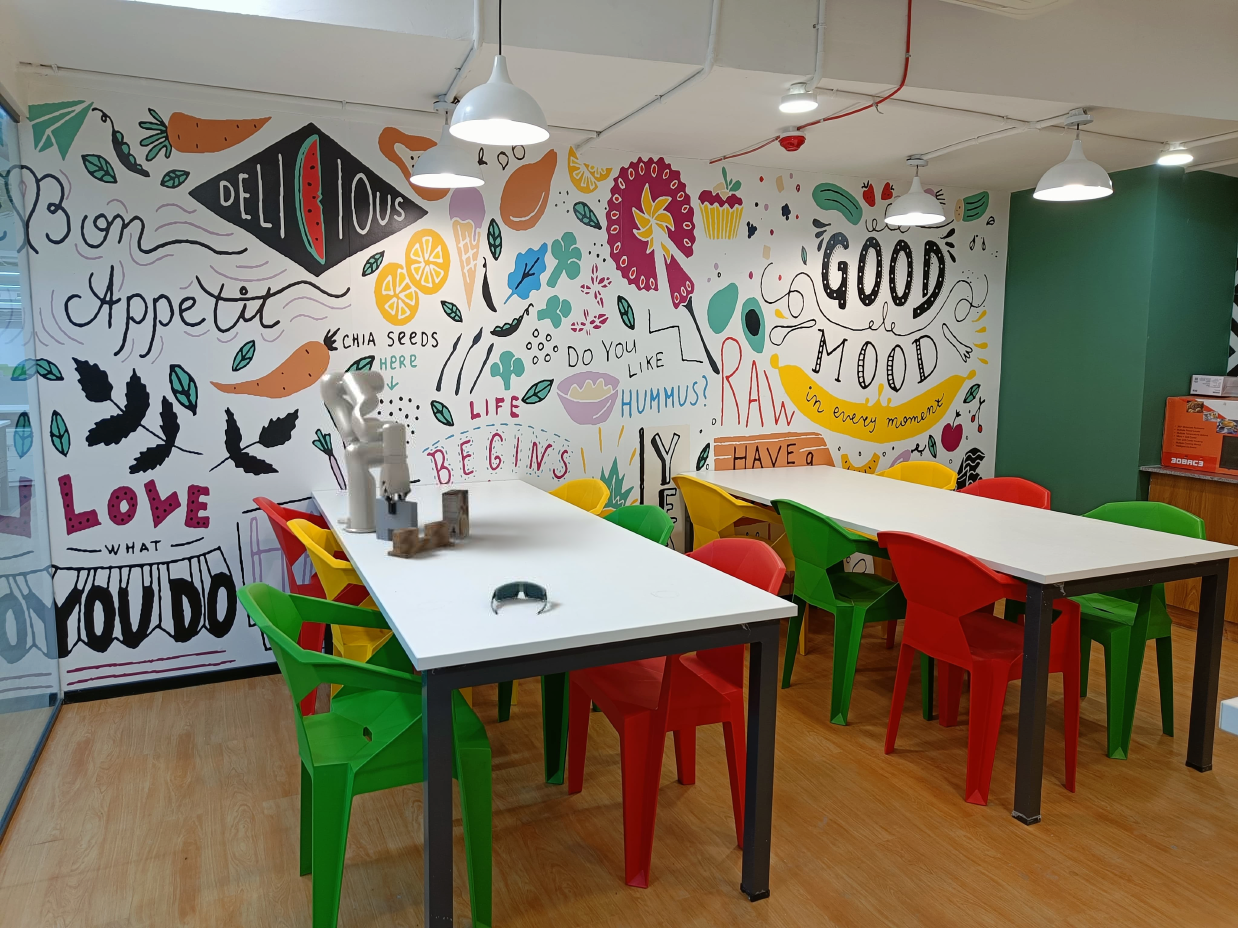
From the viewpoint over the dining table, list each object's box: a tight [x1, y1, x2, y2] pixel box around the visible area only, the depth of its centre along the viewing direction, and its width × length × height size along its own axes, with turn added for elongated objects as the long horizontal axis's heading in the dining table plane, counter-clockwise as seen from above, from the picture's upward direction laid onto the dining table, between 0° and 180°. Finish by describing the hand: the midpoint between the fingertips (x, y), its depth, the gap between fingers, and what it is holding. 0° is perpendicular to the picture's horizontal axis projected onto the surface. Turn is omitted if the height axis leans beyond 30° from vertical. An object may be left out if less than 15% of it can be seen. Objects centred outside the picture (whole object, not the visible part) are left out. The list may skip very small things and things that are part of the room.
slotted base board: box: [387, 519, 456, 560], centre depth 277 cm, size 22×8×8 cm, turn 147°
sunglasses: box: [490, 580, 548, 615], centre depth 217 cm, size 14×15×5 cm
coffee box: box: [441, 488, 470, 540], centre depth 297 cm, size 9×6×16 cm
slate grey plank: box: [375, 497, 419, 542], centre depth 290 cm, size 17×3×14 cm, turn 58°
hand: (396, 512), depth 289 cm, fingers closed on slate grey plank, 3 cm apart
